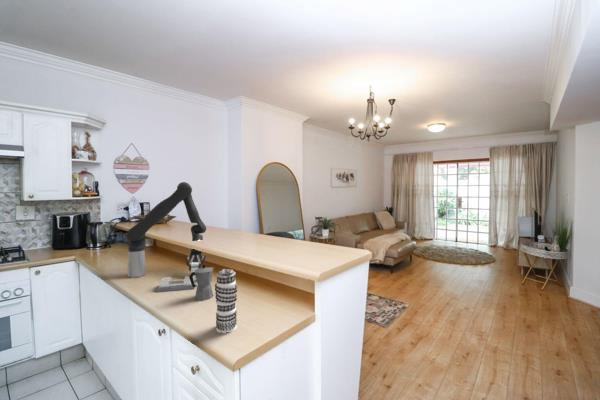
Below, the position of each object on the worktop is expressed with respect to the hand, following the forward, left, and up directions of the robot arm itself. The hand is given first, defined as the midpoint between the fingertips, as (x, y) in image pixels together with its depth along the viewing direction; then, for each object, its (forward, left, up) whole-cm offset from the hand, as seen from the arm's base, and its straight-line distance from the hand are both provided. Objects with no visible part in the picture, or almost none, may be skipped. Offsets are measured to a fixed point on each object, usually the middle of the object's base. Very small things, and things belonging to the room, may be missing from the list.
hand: (194, 270), depth 176 cm
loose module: (0, +2, -5) cm, 5 cm away
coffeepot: (+8, -34, -5) cm, 35 cm away
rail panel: (-8, -14, -5) cm, 17 cm away
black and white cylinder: (+21, -69, -5) cm, 73 cm away
